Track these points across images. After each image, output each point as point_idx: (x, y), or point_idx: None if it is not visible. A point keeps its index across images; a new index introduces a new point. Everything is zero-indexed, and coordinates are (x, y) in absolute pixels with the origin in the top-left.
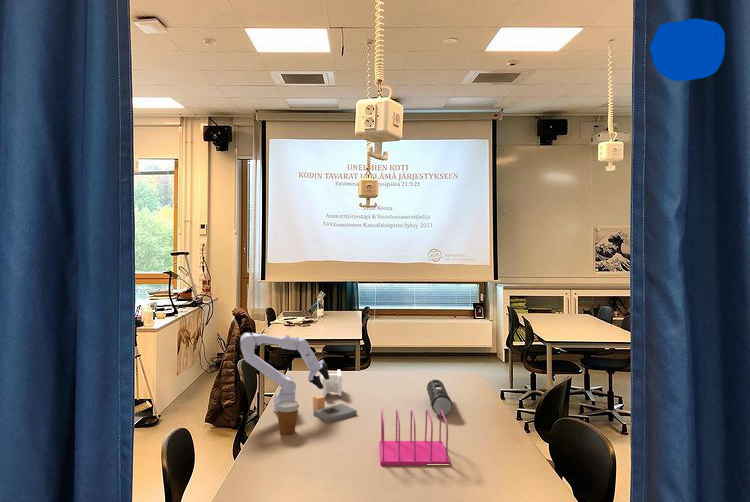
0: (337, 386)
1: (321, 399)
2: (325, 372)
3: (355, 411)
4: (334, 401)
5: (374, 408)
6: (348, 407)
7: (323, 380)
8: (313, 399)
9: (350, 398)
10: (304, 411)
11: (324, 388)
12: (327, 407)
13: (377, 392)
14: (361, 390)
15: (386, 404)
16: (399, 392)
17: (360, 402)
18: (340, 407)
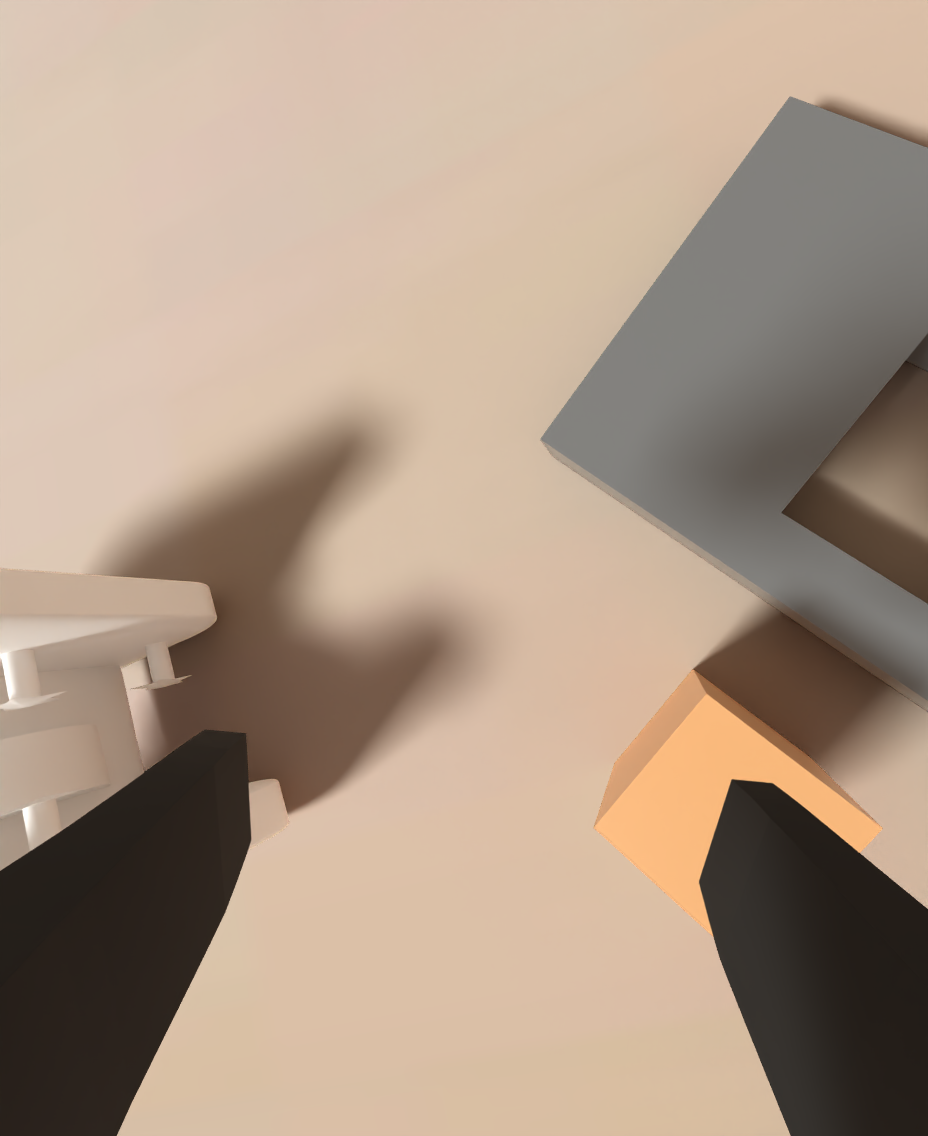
0: (56, 673)
1: (772, 743)
2: (40, 1026)
3: (810, 115)
4: (359, 629)
5: (476, 72)
6: (688, 274)
7: None
8: None
9: (231, 476)
10: None
11: None
12: (796, 593)
13: (39, 282)
14: (12, 455)
15: (325, 26)
16: (15, 97)
17: (326, 314)
18: (726, 389)
